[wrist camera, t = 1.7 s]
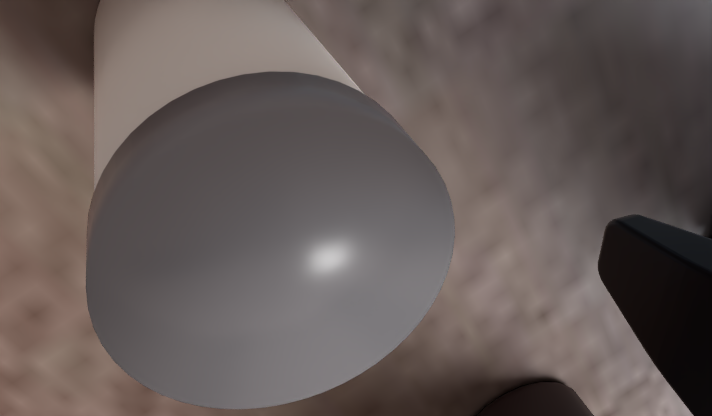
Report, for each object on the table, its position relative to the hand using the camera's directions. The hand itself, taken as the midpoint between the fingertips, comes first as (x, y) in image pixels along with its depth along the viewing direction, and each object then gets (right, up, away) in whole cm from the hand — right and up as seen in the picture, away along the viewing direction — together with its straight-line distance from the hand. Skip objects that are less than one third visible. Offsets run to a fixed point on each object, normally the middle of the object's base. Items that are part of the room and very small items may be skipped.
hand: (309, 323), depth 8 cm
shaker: (-4, +6, +9) cm, 11 cm away
